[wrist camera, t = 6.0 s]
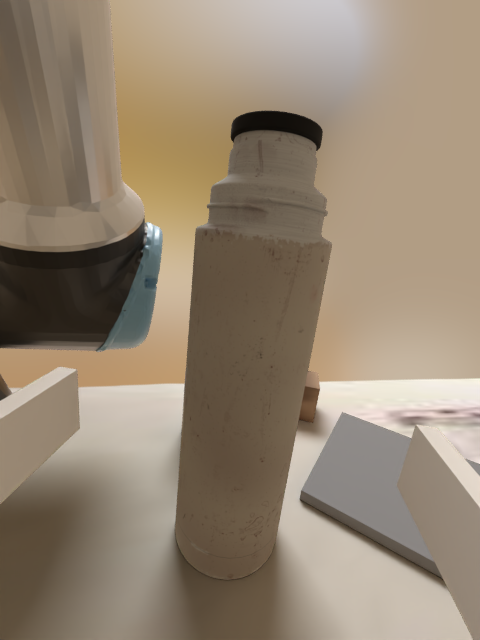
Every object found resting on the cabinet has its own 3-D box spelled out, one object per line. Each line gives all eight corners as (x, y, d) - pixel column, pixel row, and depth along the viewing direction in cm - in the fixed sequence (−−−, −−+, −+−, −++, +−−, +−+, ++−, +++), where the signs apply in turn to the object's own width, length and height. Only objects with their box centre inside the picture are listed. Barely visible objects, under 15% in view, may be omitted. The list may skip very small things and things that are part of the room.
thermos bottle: (214, 470, 29) (249, 151, 21) (290, 514, 25) (366, 146, 17) (152, 535, 22) (170, 101, 14) (243, 609, 18) (333, 76, 11)
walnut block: (274, 414, 39) (280, 381, 38) (277, 396, 44) (282, 366, 43) (312, 423, 38) (319, 389, 37) (311, 403, 43) (317, 372, 42)
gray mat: (299, 499, 26) (301, 490, 26) (340, 418, 40) (342, 412, 40) (534, 630, 19) (540, 619, 19) (487, 475, 32) (491, 468, 32)
